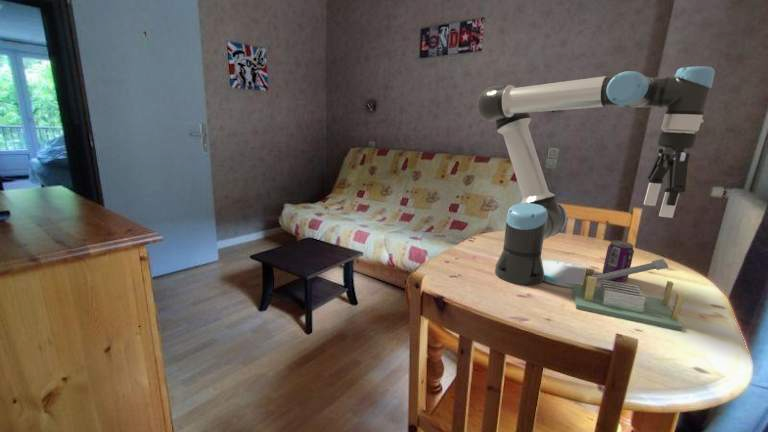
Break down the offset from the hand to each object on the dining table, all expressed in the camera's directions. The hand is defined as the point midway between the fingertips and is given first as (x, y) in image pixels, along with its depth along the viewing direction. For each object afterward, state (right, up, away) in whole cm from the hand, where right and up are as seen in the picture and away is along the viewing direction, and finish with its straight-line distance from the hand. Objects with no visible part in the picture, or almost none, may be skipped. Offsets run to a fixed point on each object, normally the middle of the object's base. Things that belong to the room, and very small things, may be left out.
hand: (656, 210), depth 95 cm
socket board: (-9, -27, +1) cm, 28 cm away
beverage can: (+1, -22, +19) cm, 29 cm away
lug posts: (-8, -26, +1) cm, 27 cm away
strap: (-9, -18, -1) cm, 20 cm away
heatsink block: (-10, -25, +1) cm, 27 cm away
